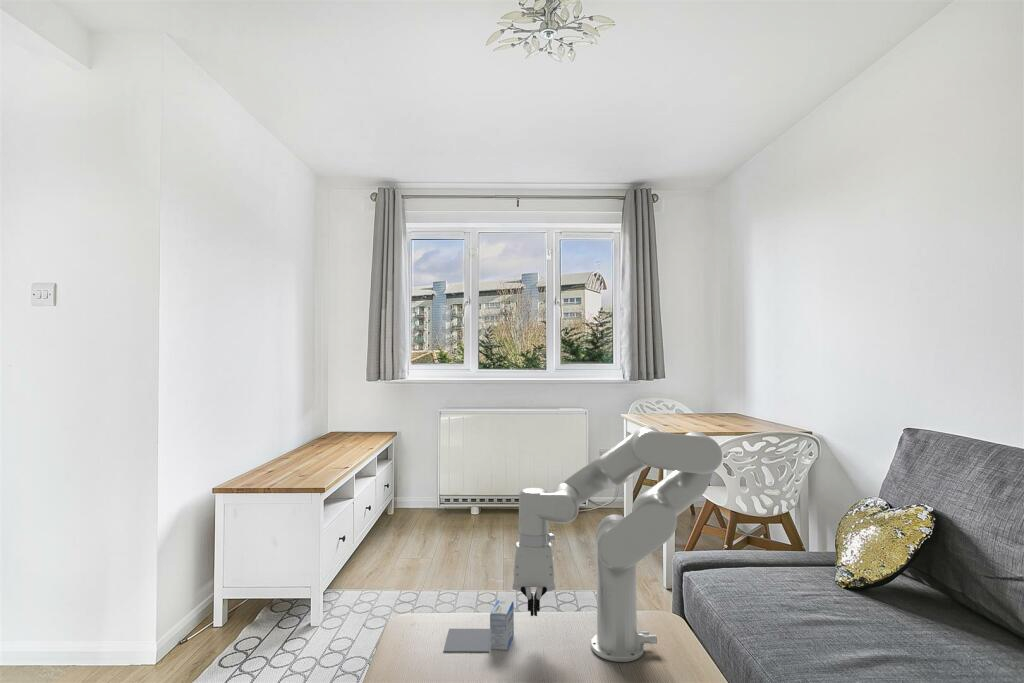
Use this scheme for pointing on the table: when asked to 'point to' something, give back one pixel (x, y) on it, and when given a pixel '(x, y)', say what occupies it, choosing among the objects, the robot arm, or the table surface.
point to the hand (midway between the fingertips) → (533, 613)
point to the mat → (467, 640)
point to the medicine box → (502, 625)
